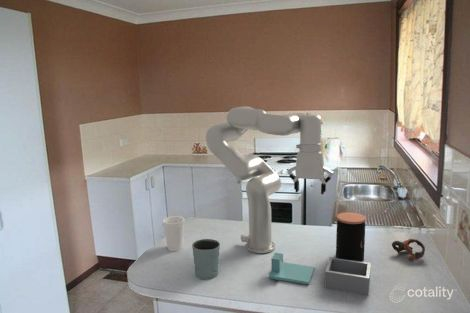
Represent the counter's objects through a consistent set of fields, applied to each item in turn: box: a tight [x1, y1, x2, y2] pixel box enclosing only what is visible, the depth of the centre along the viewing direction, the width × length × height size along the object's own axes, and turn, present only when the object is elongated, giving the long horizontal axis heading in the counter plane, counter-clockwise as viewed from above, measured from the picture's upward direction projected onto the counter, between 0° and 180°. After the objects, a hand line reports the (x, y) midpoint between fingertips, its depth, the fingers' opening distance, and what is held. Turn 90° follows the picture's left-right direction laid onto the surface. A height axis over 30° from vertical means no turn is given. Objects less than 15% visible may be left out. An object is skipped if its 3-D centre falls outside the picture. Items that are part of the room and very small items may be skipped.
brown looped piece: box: [391, 238, 426, 263], centre depth 151 cm, size 12×10×8 cm
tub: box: [324, 257, 372, 296], centre depth 130 cm, size 14×11×7 cm
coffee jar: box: [335, 211, 367, 262], centre depth 148 cm, size 11×11×18 cm
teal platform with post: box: [268, 252, 315, 285], centre depth 138 cm, size 14×11×8 cm
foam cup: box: [162, 215, 186, 252], centre depth 164 cm, size 10×9×13 cm
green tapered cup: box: [191, 238, 221, 281], centre depth 141 cm, size 10×10×12 cm
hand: (309, 192), depth 144 cm, fingers open, 9 cm apart
